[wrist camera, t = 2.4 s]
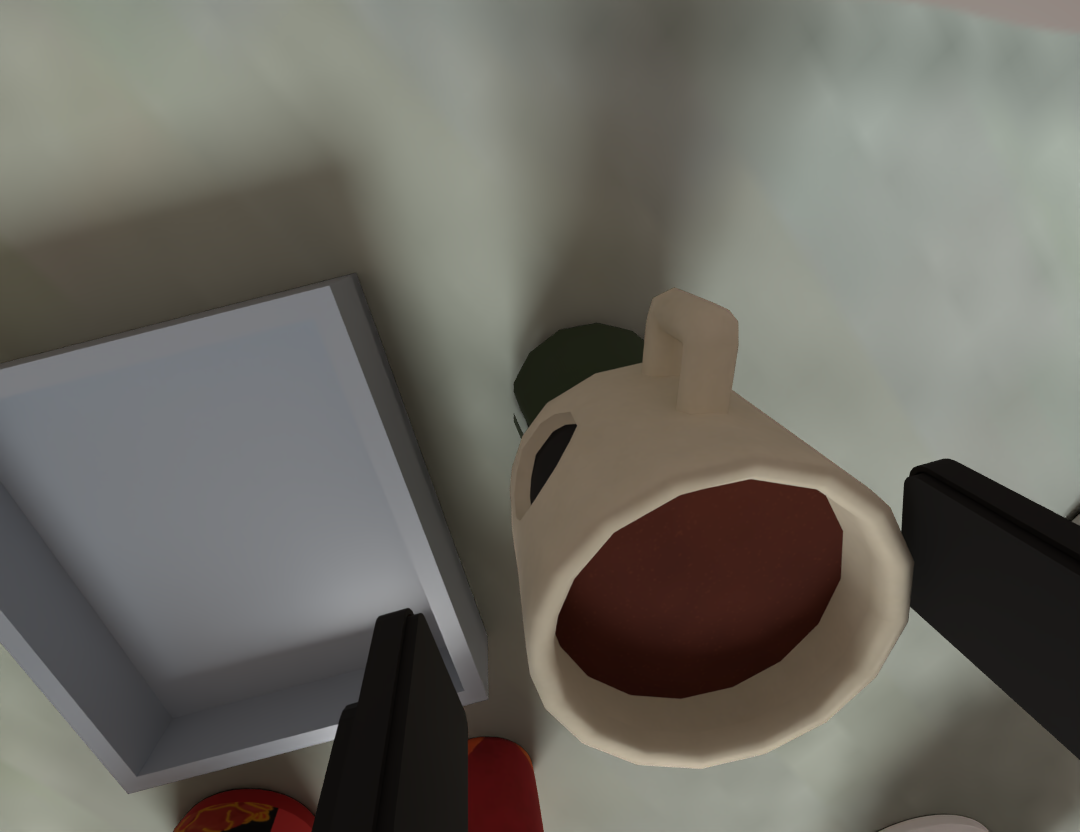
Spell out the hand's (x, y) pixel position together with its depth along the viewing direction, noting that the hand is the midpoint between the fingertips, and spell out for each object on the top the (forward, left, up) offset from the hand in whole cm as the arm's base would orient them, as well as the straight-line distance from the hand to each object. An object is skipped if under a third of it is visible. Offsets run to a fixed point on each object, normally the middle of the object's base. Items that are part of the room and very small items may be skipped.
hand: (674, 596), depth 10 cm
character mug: (-1, 0, -12) cm, 12 cm away
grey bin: (+14, +2, -12) cm, 19 cm away
